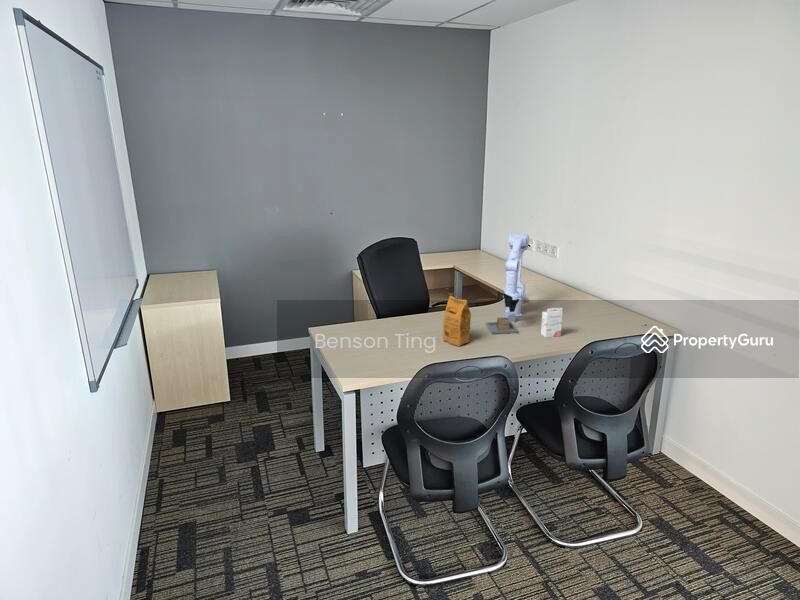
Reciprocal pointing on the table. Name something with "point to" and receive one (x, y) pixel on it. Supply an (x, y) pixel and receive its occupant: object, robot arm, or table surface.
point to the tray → (494, 330)
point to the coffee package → (456, 322)
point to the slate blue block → (509, 316)
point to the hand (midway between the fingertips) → (509, 309)
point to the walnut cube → (502, 323)
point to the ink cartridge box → (552, 322)
